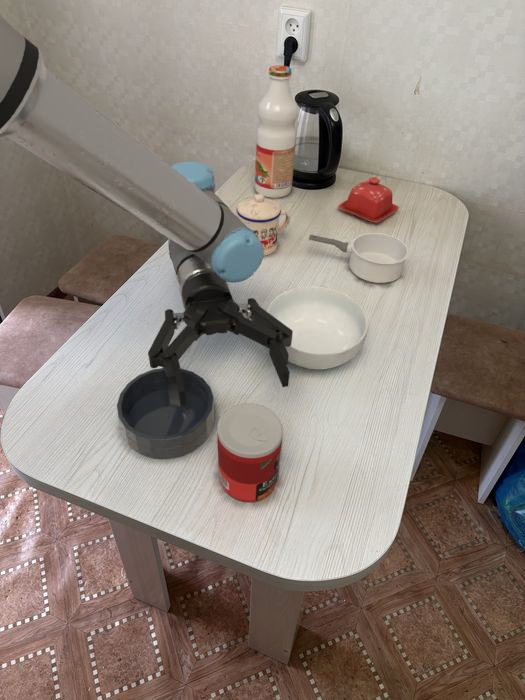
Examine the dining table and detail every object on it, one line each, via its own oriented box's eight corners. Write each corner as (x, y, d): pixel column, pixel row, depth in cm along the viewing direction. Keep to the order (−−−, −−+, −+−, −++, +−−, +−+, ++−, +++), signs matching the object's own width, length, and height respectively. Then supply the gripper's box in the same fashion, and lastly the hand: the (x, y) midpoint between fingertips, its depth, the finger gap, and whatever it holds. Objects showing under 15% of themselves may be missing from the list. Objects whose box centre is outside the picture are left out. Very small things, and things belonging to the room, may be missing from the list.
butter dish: (360, 195, 128) (366, 163, 122) (400, 211, 123) (408, 178, 117) (334, 211, 121) (339, 177, 116) (375, 229, 116) (383, 194, 110)
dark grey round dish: (112, 457, 69) (107, 437, 66) (132, 385, 78) (128, 365, 75) (209, 461, 69) (208, 441, 66) (217, 389, 79) (216, 369, 76)
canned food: (267, 512, 64) (271, 463, 56) (209, 492, 66) (206, 442, 58) (285, 464, 69) (291, 413, 62) (230, 447, 71) (230, 395, 63)
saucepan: (311, 245, 110) (314, 222, 106) (404, 260, 107) (410, 237, 103) (301, 274, 102) (304, 250, 98) (401, 292, 99) (408, 268, 95)
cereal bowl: (259, 317, 92) (261, 285, 87) (348, 314, 93) (355, 283, 88) (269, 386, 80) (271, 354, 75) (371, 382, 81) (380, 350, 76)
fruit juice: (289, 200, 124) (299, 76, 105) (251, 196, 125) (255, 72, 106) (293, 183, 131) (304, 64, 112) (257, 179, 132) (262, 60, 113)
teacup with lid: (246, 261, 104) (247, 210, 96) (229, 239, 110) (229, 189, 102) (297, 250, 108) (302, 199, 100) (278, 229, 114) (282, 180, 106)
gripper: (278, 299, 85) (323, 391, 70) (126, 320, 79) (140, 425, 65) (281, 261, 80) (330, 352, 65) (119, 281, 74) (132, 385, 59)
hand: (235, 389), depth 65 cm, fingers open, 13 cm apart
